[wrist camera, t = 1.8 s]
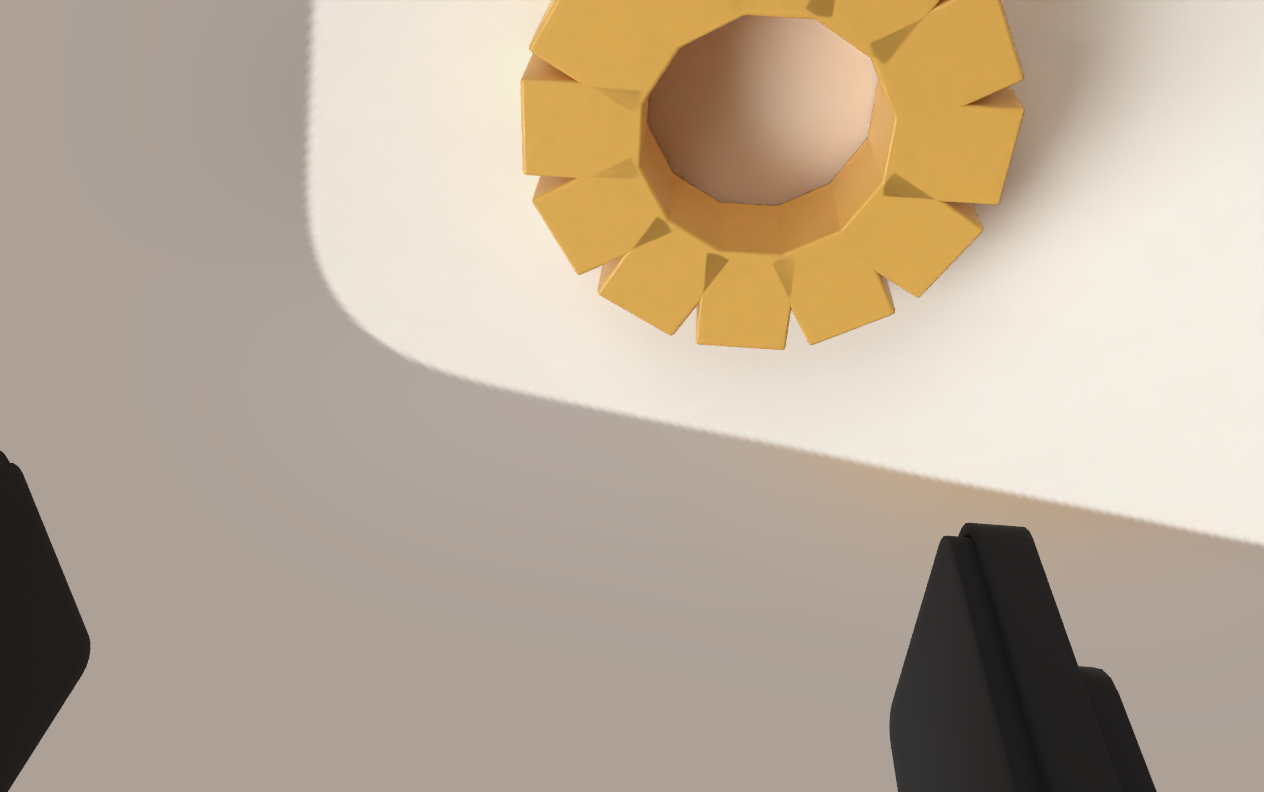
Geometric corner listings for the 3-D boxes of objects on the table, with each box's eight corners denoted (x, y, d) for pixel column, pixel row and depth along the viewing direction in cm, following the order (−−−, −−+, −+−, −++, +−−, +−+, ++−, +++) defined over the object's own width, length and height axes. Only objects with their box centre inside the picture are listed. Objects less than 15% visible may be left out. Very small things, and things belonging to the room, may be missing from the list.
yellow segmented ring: (462, 158, 23) (439, 204, 21) (702, -268, 18) (701, -259, 16) (800, 358, 26) (807, 416, 24) (1094, 34, 21) (1133, 74, 19)
